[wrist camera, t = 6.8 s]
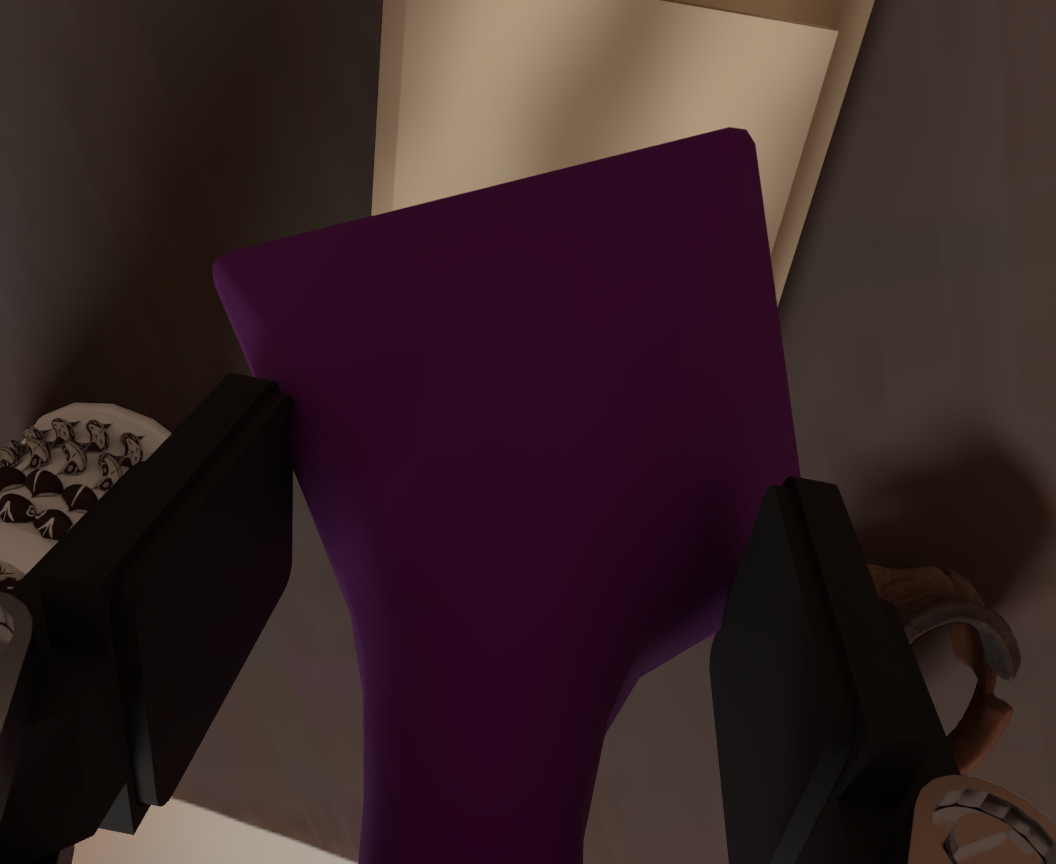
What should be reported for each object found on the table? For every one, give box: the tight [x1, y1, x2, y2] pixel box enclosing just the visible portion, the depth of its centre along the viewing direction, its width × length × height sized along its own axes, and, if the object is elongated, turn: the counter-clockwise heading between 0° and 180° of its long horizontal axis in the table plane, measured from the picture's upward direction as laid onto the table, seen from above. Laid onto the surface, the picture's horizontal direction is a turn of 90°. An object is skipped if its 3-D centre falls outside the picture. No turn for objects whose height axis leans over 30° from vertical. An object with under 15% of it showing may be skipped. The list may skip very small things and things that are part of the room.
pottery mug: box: [866, 563, 1021, 776], centre depth 33 cm, size 12×10×8 cm
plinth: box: [372, 0, 875, 307], centre depth 26 cm, size 13×13×4 cm
